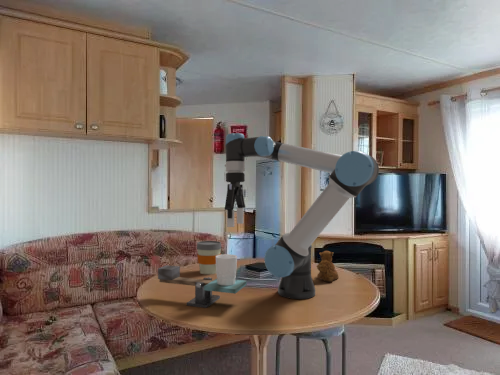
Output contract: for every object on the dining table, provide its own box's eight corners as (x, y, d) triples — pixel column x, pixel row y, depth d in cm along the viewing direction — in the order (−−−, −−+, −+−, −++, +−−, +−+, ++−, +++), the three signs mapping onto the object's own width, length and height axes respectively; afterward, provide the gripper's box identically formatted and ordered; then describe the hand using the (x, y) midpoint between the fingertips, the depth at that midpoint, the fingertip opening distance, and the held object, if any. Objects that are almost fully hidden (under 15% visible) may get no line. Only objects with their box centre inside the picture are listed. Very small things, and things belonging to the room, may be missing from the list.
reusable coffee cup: (200, 269, 188) (200, 240, 188) (223, 269, 186) (223, 241, 186) (193, 274, 176) (193, 244, 176) (218, 275, 174) (218, 245, 174)
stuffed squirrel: (338, 276, 173) (338, 249, 173) (337, 284, 160) (337, 255, 160) (317, 275, 176) (318, 248, 176) (315, 282, 163) (315, 253, 163)
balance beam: (246, 284, 135) (246, 270, 135) (235, 293, 124) (235, 277, 124) (170, 277, 146) (170, 263, 146) (153, 284, 134) (153, 270, 134)
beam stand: (219, 298, 139) (219, 277, 139) (206, 307, 127) (206, 285, 127) (201, 296, 141) (201, 275, 141) (186, 305, 130) (186, 283, 130)
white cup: (239, 281, 135) (239, 254, 135) (234, 286, 127) (234, 258, 127) (219, 280, 136) (219, 253, 136) (212, 285, 128) (212, 257, 128)
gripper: (234, 173, 157) (235, 222, 156) (216, 171, 132) (216, 228, 132) (251, 173, 155) (251, 222, 155) (235, 170, 131) (236, 228, 130)
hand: (235, 225), depth 143 cm, fingers open, 13 cm apart
